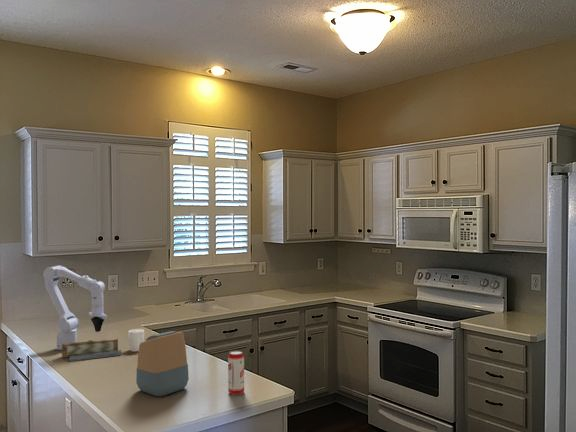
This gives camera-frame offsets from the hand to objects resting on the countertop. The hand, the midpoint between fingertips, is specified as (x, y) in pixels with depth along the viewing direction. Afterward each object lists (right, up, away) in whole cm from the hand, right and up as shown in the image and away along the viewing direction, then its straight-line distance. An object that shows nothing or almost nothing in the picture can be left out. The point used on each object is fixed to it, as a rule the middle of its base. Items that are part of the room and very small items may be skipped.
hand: (98, 331), depth 272 cm
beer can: (+78, -10, -66) cm, 102 cm away
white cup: (+20, -10, -1) cm, 23 cm away
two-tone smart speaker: (+48, -10, -61) cm, 79 cm away
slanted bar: (+4, -10, -15) cm, 18 cm away
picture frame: (0, -10, -9) cm, 13 cm away
